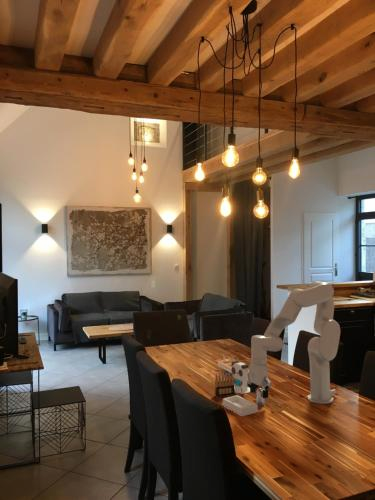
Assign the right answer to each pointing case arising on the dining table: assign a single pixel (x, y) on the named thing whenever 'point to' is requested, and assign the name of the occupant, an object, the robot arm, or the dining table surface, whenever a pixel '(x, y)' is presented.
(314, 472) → the dining table surface
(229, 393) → the ammunition clip
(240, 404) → the trough
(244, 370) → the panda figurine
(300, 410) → the dining table surface
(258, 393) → the cylinder
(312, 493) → the dining table surface
